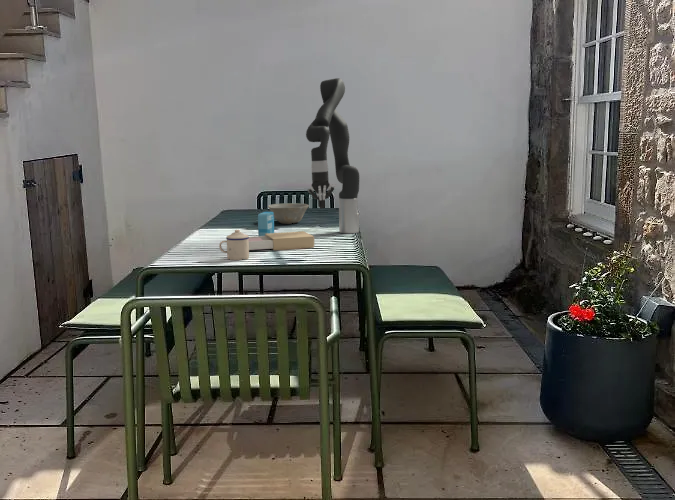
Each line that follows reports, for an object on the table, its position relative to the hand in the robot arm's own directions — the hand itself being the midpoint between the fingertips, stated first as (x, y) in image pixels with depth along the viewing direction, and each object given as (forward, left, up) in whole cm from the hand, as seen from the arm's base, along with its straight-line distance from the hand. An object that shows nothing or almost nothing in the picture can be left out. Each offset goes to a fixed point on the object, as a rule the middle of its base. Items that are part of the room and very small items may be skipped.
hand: (321, 208), depth 305 cm
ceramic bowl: (-1, -65, -15) cm, 67 cm away
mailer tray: (+25, +9, -15) cm, 30 cm away
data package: (+22, -19, -15) cm, 33 cm away
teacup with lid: (+46, +29, -15) cm, 56 cm away
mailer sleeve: (+18, +9, -15) cm, 25 cm away
